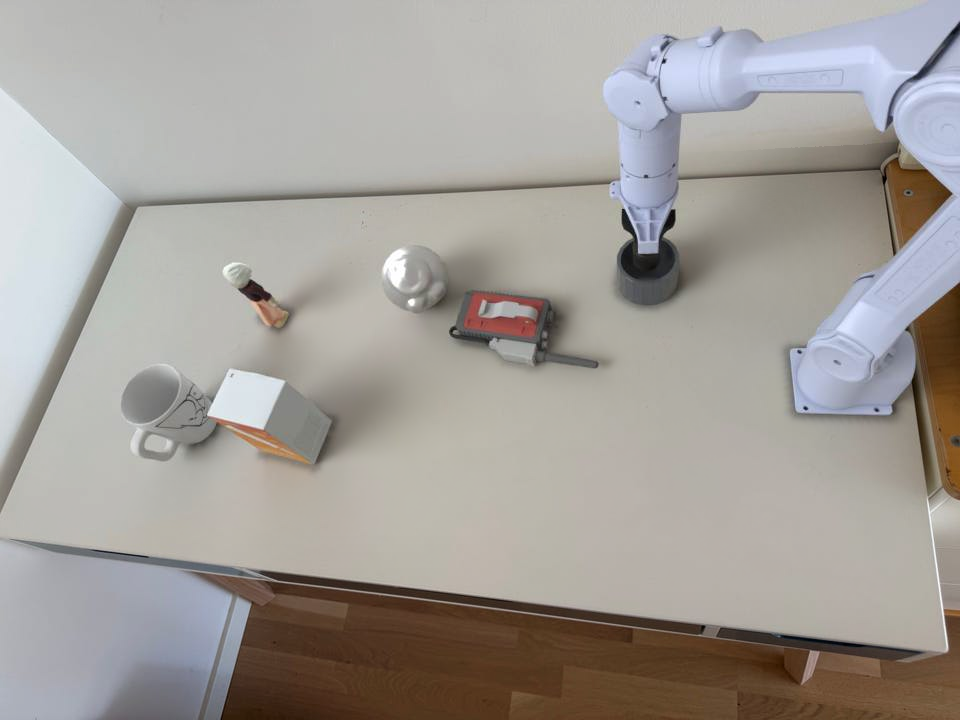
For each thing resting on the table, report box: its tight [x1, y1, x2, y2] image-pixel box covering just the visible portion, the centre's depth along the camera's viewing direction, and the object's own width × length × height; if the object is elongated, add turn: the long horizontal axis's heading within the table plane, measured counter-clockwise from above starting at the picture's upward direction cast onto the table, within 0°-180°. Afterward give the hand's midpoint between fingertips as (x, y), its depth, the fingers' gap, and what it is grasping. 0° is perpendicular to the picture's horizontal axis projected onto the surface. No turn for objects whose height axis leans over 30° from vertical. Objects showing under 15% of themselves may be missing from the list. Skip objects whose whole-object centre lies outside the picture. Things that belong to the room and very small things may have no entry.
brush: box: [633, 242, 661, 271], centre depth 76 cm, size 3×3×10 cm
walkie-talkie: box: [448, 289, 600, 369], centre depth 82 cm, size 9×4×20 cm
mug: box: [119, 363, 217, 462], centre depth 84 cm, size 11×8×10 cm
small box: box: [207, 367, 333, 466], centre depth 79 cm, size 8×6×13 cm
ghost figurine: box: [380, 244, 449, 315], centre depth 86 cm, size 9×10×10 cm
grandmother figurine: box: [222, 261, 290, 328], centre depth 89 cm, size 8×4×13 cm, turn 68°
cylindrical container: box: [616, 236, 680, 306], centre depth 82 cm, size 7×7×5 cm
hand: (647, 239), depth 76 cm, fingers closed on brush, 2 cm apart
